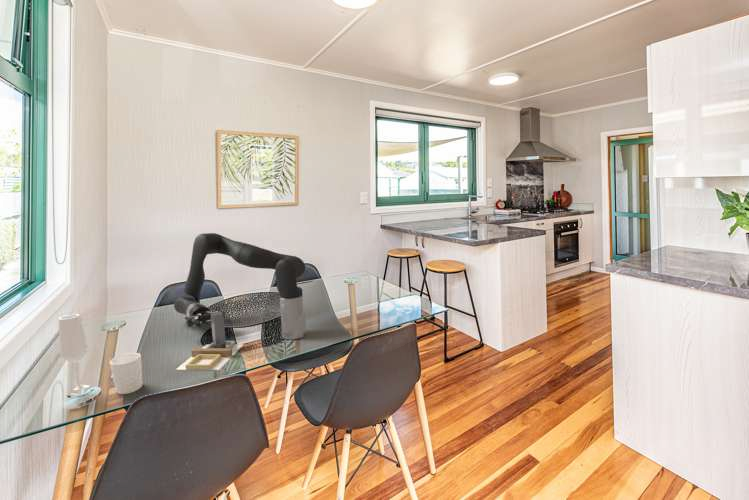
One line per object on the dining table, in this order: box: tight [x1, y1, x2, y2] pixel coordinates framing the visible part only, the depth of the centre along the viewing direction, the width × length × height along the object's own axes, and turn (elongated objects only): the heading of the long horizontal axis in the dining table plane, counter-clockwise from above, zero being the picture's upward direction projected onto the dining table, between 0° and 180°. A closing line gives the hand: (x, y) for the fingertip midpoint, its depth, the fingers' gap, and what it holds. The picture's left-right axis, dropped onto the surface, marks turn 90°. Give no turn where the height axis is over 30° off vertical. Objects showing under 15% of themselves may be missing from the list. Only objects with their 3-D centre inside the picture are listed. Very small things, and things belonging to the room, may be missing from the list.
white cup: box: [109, 352, 143, 395], centre depth 110 cm, size 8×8×10 cm
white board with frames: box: [175, 340, 245, 371], centre depth 130 cm, size 20×15×4 cm
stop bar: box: [210, 311, 227, 348], centre depth 135 cm, size 4×4×14 cm
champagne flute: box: [58, 313, 90, 390], centre depth 108 cm, size 7×7×24 cm
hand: (211, 322), depth 141 cm, fingers open, 8 cm apart
